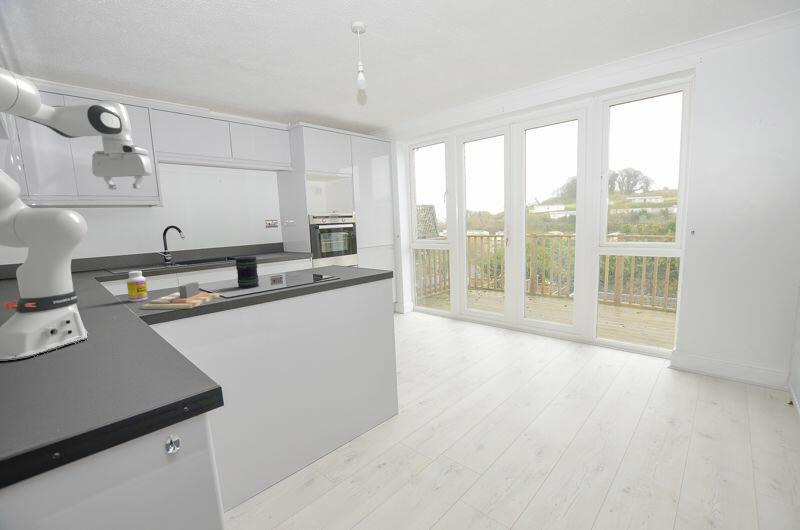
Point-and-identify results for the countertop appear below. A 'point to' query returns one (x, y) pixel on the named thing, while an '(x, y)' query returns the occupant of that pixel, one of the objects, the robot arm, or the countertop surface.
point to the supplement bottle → (137, 287)
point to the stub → (189, 293)
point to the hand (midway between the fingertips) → (124, 189)
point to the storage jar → (247, 272)
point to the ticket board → (167, 303)
